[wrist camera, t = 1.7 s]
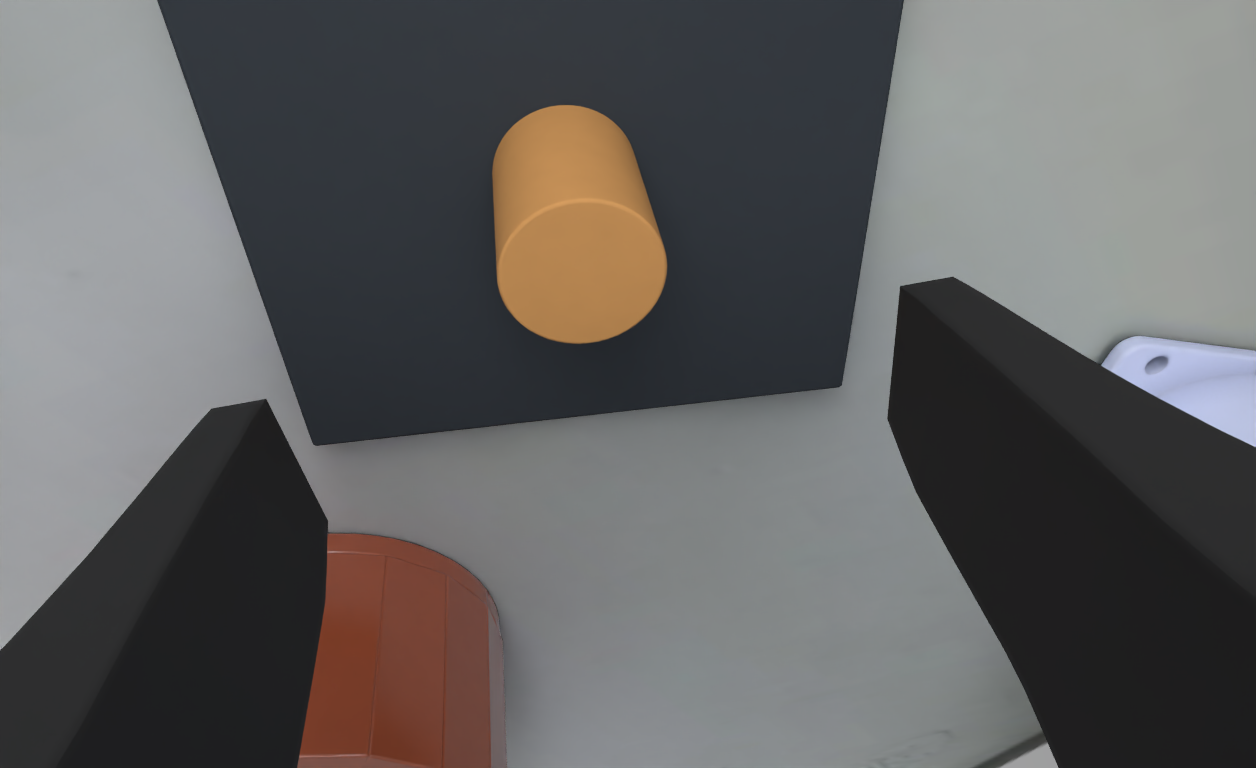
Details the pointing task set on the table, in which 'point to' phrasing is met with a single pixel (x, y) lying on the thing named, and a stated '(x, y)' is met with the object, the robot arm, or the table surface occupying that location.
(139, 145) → the table surface
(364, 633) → the cup
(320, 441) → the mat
